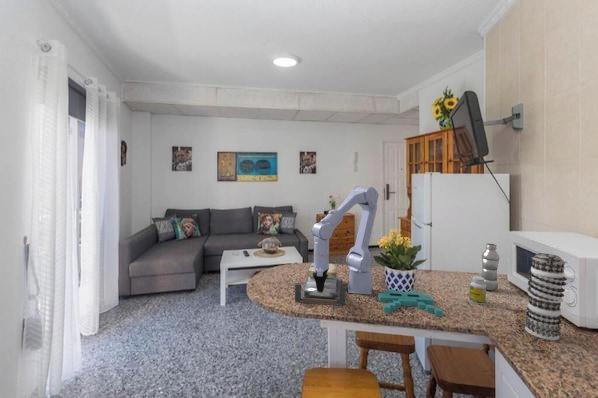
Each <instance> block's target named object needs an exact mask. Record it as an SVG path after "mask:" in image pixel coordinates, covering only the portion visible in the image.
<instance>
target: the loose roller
mask: <svg viewBox="0 0 598 398" xmlns="http://www.w3.org/2000/svg"><path fill="white" fill-rule="evenodd" d="M304 297H306V298H319V299H331V300H336V289H325V288H324V289H323V292H318V291H317V288H312V287H305V291H304Z"/></svg>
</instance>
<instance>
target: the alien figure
mask: <svg viewBox="0 0 598 398" xmlns="http://www.w3.org/2000/svg"><path fill="white" fill-rule="evenodd" d="M411 290H412V289H411ZM377 297H378V301H379V303H387V304H383V306H382V307H383V309H382V310H383V312H384V313H392V312H391V311H396V310H397V309H398V308H399V309H401V306H406V307H407V306H408V307H417V309H418V310H425V311H426V313H433V314H434V315H435V316H437V317H439V316H440V317H442V316H443V315H444V313H443V312H444V310H442V308H440V307H434V304H435V303H434V301H435V300H434V299H433V298H432V296H431V295H426V294H424V293H423V292H417V291H416V290H415V289H414V290H412V291H409V292H403V291H396V290H392V289H391V288H388V289H386V290H382V292H377Z"/></svg>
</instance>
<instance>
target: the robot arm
mask: <svg viewBox="0 0 598 398" xmlns="http://www.w3.org/2000/svg"><path fill="white" fill-rule="evenodd" d="M378 200H379V192H378V191H377V188H375V187H374V186H373V187H372V186H371V187H370V186H369V187H367V186H366V187H365V186H355V187H353V188H352V190H350V191H349V195H348V196H347V197H346V198H345V199H344V201H343V202H342V203H341V204H340V205H339V207H337V209H332V210H329V211H328V213H327V215H326V216H325V217H323V218H322V219H321V220H320V222H317V223H315V224H314V225H313V226H312V229H311V231H310V232H311V235H312V236H313V263H314V264H311V263H310V265H311V267H314V269H315V270H316V273H313V277H314V279H315V282H316V287H317V291H318V292H323V289H324V284H325V280H326V278H327V276H328V274H327V271H328V270H329V264H330V262H329V261H330V259H329V257H330V256H329V255H330V238H331V237H332V236H333V232H334V230H335V229H336V227H338V225H339V224H340V223H342V221H343V220H344V215H345V214H346V213H347V212H349V211H350V210H351V209H352V208H353V207H355V205H359V207H360V208H361V209H362V213H361V217H360V221H359V226H358V230H357V236H356V239H355V244H354V246H352V247H351V248H349V252H348V254H347V256H346V258H345V262H346V264H347V266H348V269H349V275H348V277H349V278H348V285H347V292H348V293H349V294H356V295H357V294H358V295H359V294H360V295H372V289H373V272H372V270H370V268H372V253H371V252H370V250H369V245H370V241H371V237H372V231H373V226H374V223H375V219H376V214H377V207H378Z"/></svg>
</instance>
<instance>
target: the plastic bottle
mask: <svg viewBox="0 0 598 398" xmlns="http://www.w3.org/2000/svg"><path fill="white" fill-rule="evenodd" d="M497 250H498V249H497V244H496V243H486V245H485V250H484V251H483V252H482V253H481V264H482V265H481V266H482V267H481V270H482V271H481V276H480V277H483V278H484V279H485V282H484V284H485V285H486V291H493V292H494V291H496V290H497V289H498V288H499V283H498V267H499V261H500V255H499V253H498V252H497Z"/></svg>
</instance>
